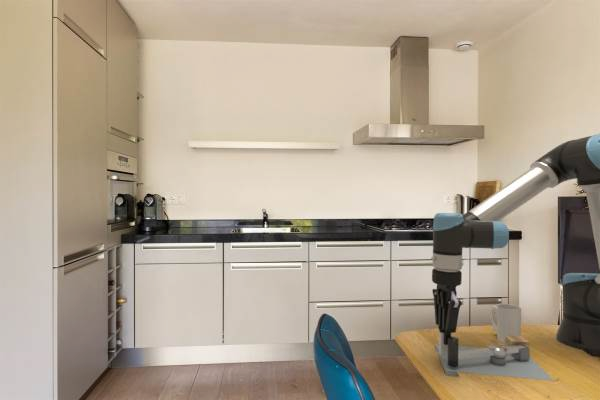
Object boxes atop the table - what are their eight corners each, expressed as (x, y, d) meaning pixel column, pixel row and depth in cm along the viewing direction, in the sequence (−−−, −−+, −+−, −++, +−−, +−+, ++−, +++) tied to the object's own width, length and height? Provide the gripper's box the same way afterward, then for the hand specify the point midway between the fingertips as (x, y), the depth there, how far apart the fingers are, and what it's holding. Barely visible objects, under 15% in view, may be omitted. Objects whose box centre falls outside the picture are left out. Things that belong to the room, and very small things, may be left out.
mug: (526, 347, 114) (526, 308, 114) (510, 349, 112) (510, 310, 112) (498, 336, 123) (498, 300, 124) (483, 338, 121) (483, 302, 121)
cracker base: (524, 355, 108) (524, 345, 108) (554, 385, 90) (554, 373, 90) (435, 347, 113) (435, 337, 113) (446, 375, 95) (446, 363, 95)
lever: (519, 354, 104) (519, 328, 104) (532, 361, 100) (532, 334, 100) (443, 363, 98) (443, 335, 98) (454, 370, 94) (454, 341, 94)
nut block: (521, 351, 107) (521, 336, 107) (528, 358, 103) (528, 342, 103) (504, 350, 108) (505, 335, 108) (511, 357, 103) (511, 341, 103)
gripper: (424, 264, 106) (422, 345, 107) (443, 273, 94) (441, 365, 94) (449, 264, 107) (447, 345, 107) (472, 274, 94) (469, 365, 94)
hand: (444, 354), depth 100 cm, fingers closed
